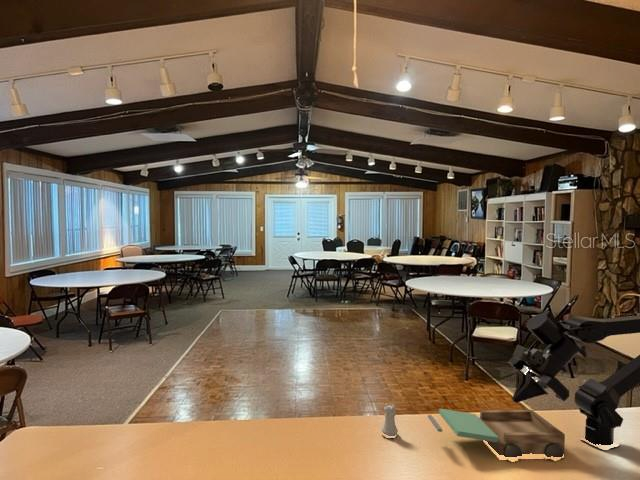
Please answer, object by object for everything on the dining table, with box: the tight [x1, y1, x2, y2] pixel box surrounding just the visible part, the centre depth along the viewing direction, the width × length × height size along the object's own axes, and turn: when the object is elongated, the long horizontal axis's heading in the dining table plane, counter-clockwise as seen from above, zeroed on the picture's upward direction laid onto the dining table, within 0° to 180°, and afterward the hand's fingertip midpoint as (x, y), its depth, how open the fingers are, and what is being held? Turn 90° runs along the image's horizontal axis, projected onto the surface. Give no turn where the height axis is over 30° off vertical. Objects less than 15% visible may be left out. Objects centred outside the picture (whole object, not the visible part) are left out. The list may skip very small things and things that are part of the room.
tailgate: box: [427, 408, 499, 442], centre depth 106 cm, size 2×13×14 cm
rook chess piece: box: [381, 403, 399, 436], centre depth 111 cm, size 4×4×8 cm
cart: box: [479, 409, 566, 457], centre depth 107 cm, size 16×16×6 cm
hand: (514, 400), depth 107 cm, fingers closed
